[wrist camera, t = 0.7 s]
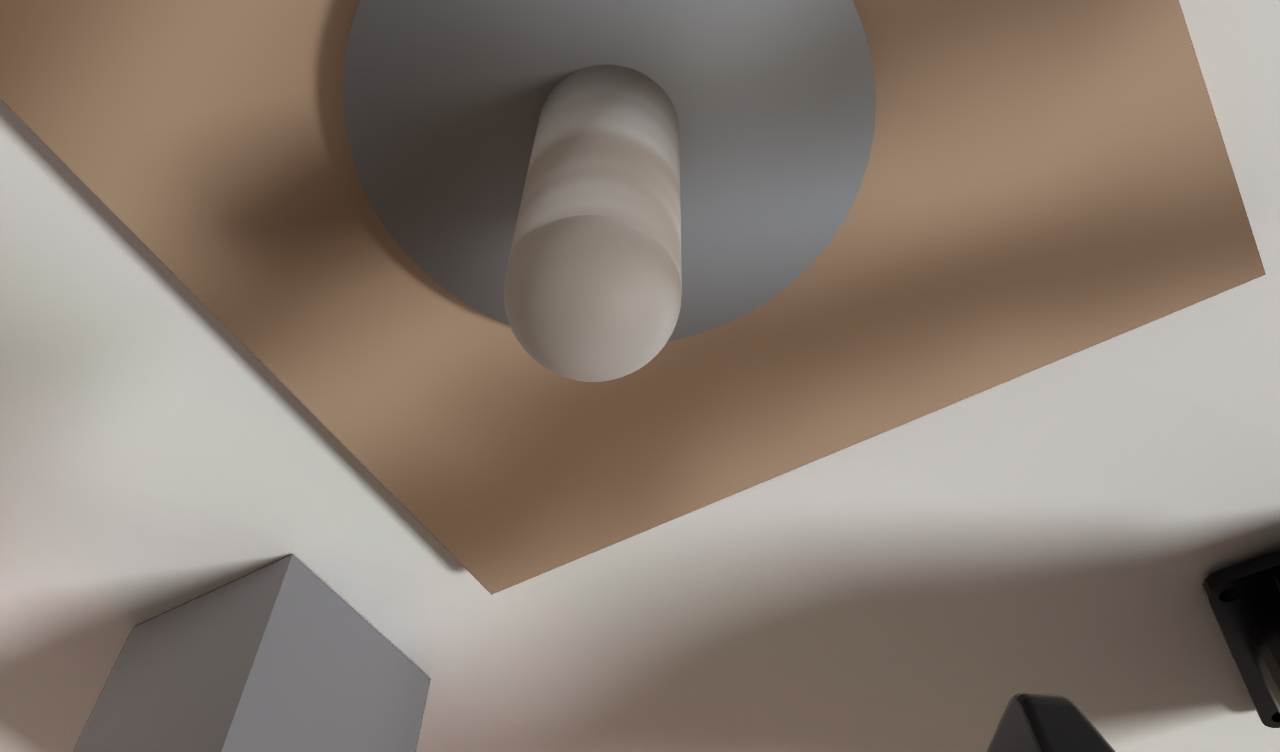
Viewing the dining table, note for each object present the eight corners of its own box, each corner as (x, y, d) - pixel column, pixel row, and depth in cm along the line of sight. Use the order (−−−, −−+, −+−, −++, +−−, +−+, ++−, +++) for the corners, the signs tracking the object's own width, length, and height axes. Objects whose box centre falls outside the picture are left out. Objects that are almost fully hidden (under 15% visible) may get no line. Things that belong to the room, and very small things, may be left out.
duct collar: (430, 678, 31) (386, 891, 26) (276, 739, 33) (209, 947, 28) (292, 553, 28) (215, 767, 23) (132, 627, 30) (30, 839, 25)
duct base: (1244, 246, 22) (1467, 532, 16) (496, 564, 28) (447, 861, 22) (863, -922, 13) (1040, -1323, 7) (-131, -87, 19) (-522, 109, 13)
